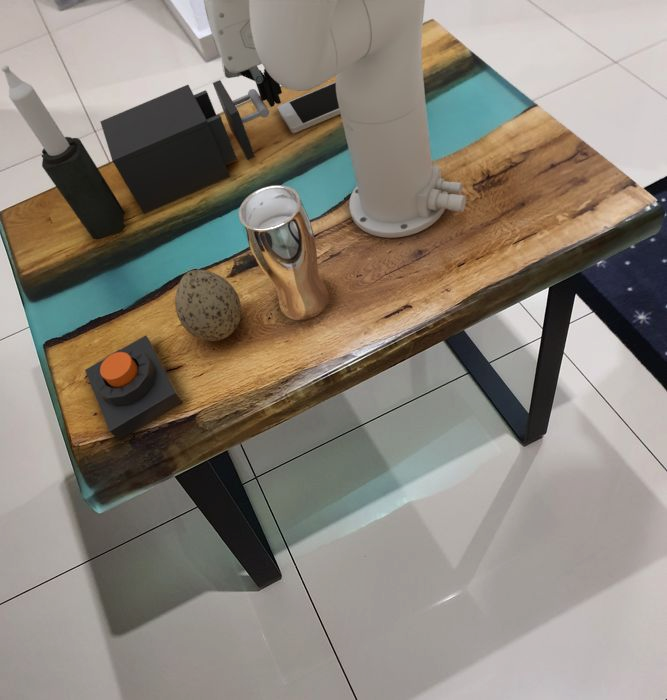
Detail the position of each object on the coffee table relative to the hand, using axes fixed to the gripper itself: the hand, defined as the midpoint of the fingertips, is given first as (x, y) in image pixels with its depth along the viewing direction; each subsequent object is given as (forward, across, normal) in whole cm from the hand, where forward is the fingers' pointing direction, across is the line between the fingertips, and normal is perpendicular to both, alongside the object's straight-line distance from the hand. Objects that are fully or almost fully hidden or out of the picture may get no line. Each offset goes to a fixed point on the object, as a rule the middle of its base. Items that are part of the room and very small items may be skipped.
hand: (273, 100), depth 94 cm
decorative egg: (+5, -19, -33) cm, 38 cm away
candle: (+5, -29, -4) cm, 30 cm away
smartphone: (+5, +9, +1) cm, 10 cm away
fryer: (+5, -17, 0) cm, 18 cm away
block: (+5, -31, -36) cm, 47 cm away
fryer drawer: (+4, -10, 0) cm, 11 cm away
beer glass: (+5, -9, -34) cm, 35 cm away
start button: (+2, -31, -36) cm, 47 cm away
